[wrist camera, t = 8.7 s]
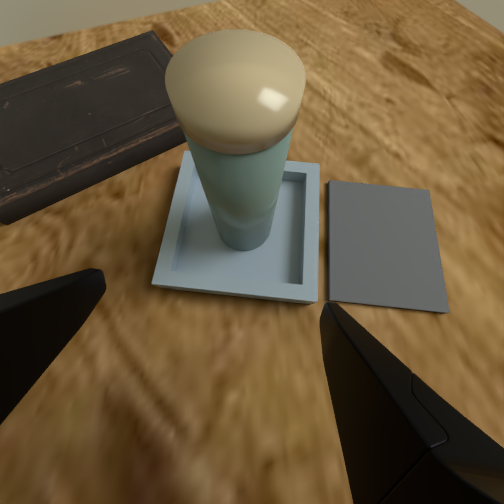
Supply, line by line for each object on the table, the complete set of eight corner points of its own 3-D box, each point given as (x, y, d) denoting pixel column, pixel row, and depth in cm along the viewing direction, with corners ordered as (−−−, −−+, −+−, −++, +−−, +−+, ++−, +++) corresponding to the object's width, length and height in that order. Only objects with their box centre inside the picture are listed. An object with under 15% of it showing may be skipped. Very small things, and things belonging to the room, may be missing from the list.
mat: (445, 313, 19) (449, 312, 19) (328, 300, 20) (330, 299, 19) (426, 192, 23) (429, 190, 23) (328, 182, 23) (329, 180, 23)
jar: (280, 241, 20) (329, 107, 8) (225, 259, 20) (183, 144, 7) (261, 194, 22) (276, 18, 9) (209, 209, 21) (152, 44, 9)
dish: (310, 304, 19) (317, 301, 17) (160, 288, 20) (151, 283, 18) (313, 177, 23) (319, 163, 22) (189, 164, 24) (184, 150, 22)
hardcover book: (-25, 120, 26) (-50, 101, 24) (159, 51, 30) (152, 29, 28) (12, 228, 22) (-14, 217, 20) (220, 130, 26) (217, 112, 24)
